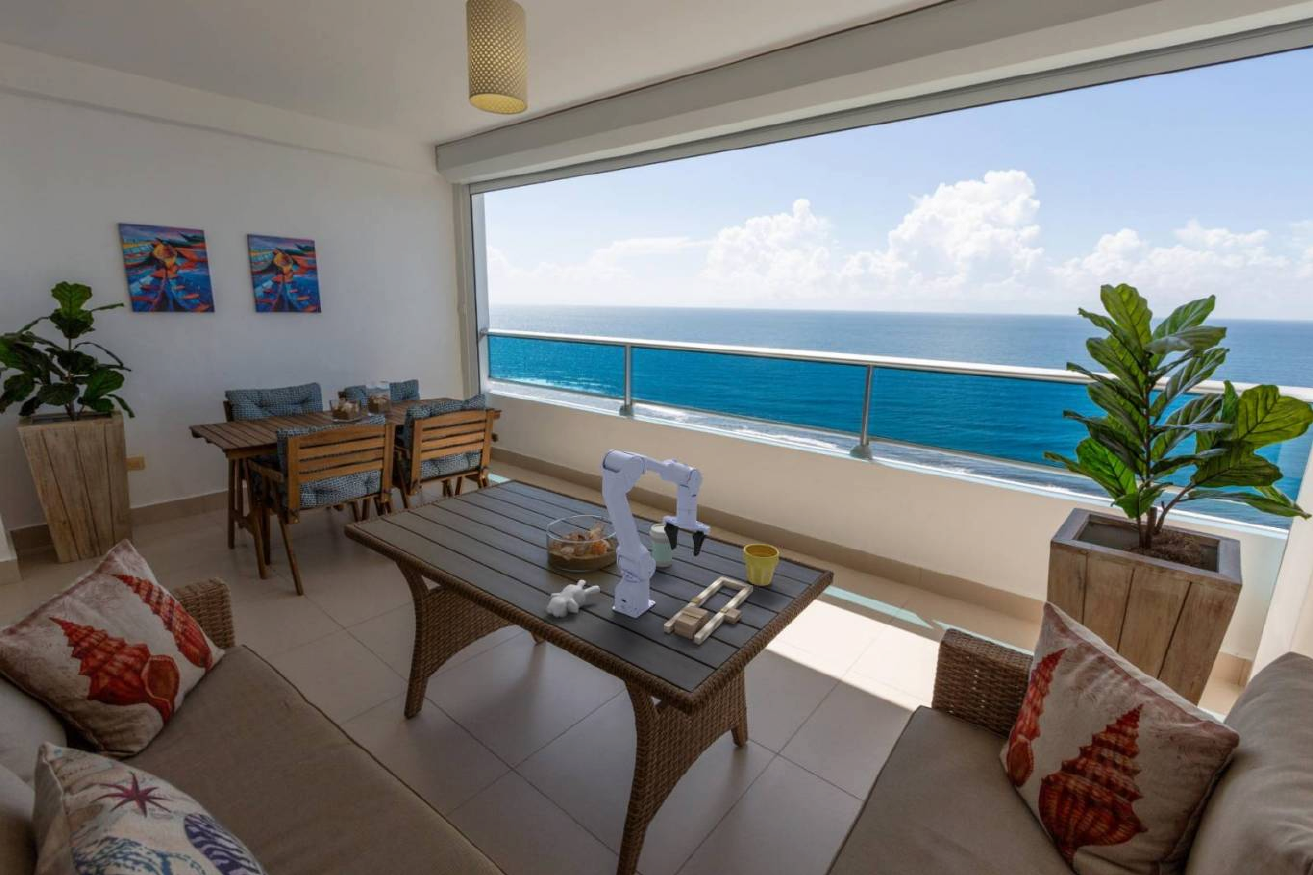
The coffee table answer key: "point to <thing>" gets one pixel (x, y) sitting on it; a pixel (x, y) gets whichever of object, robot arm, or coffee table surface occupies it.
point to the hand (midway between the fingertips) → (684, 551)
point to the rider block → (691, 622)
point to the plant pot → (760, 563)
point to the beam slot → (726, 612)
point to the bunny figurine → (570, 599)
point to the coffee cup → (660, 546)
